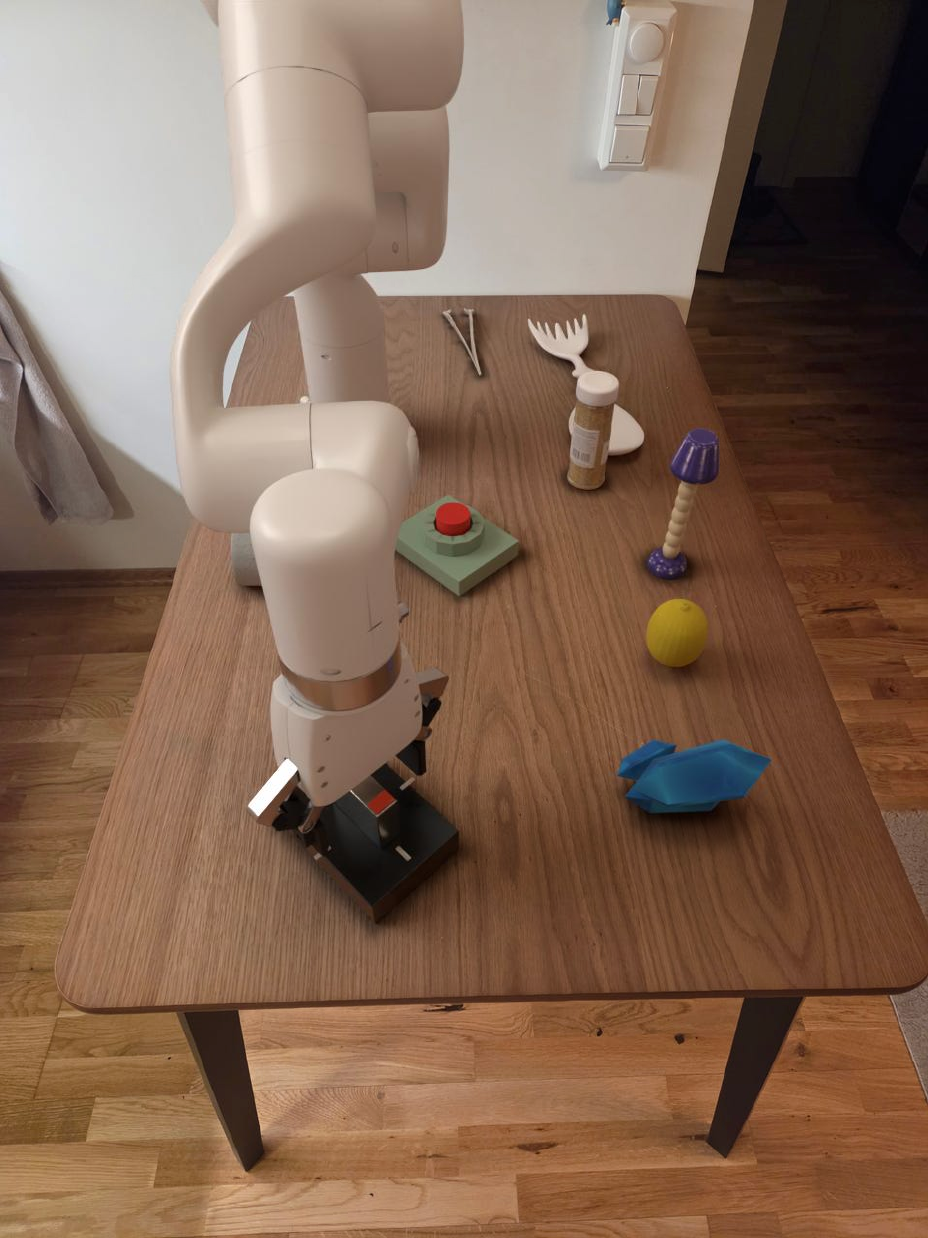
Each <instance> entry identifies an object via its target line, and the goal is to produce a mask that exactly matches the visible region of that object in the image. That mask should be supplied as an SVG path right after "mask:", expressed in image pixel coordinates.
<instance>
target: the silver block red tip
mask: <svg viewBox="0 0 928 1238" xmlns="http://www.w3.org/2000/svg"><path fill="white" fill-rule="evenodd" d="M334 803H335V804H336V805H337V806H338V807H339V808H340V809H341V810H342V811H343V812H344V813H345V814H346V815H347V816H348V817H349V818H350V819H351V820H352V821H353V822H354V823H355V824H356V825H357V826H358V827H359V828H360V829H361V830H362V831H363V832H364V833H365V834H366V835H367V836H368V837H369V838H370V839H371V840H372V841H373V842H374V843H375V844H376V845H377V846H378V847H379V848H380V849H383V848H384V847H385V846H386V845H387V844H389V843H390V842H391V841H392V840H393V839H395V838H396V837H397V836H398V835H399V834H400V826H399V816H398V806H397V800H396V799H395V798H394V797H393V796H392V795H391V794H390V793H389V792H387V791H386V790H385V789H384V788H383V787H382V786H381V785H380V784H379V783H378V782H377V781H376V780H375V779H374V778H373V777H372V776H371V775H370V776H368V777H367V778H366V779H364V780H363V781H362V782H360V783H359V784H358V785H357V786H355V787H354V788H353V789H351V790H350V791H349V792H347V793H346V794H345V795H343V796H342V797H340V798H339V799H338V800H336V801H335V802H334Z"/></svg>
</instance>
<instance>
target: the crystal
mask: <svg viewBox="0 0 928 1238" xmlns="http://www.w3.org/2000/svg"><path fill="white" fill-rule="evenodd" d="M677 746H678V745H677V744H676V743H671V742H668V741H662V740H657V739H651V740H650V741H648V742H647V743H645V744H644V745H641V746H640V747H639V748H637V749H636V750H634V751H632V752H631V753H629V754H628V755H626V756H625V757H622V759H621V761H620V764H619V768H618V770H617V774H616V777H619V778H624V779H627V780H630V781H635V783H634V784H633V786H631V789H630V790H629V791H628V792H627V793H626V794H625V795H624V797H625V798H626V799H628V800H629V801H631V803H632V802H633V803H634V804H635V805H637V806H638V807H640V808H641V809H643V810H644V811H645V812H647V813H649V814H665V813H666V814H667V813H689V812H690V813H692V812H693V813H694V812H712V811H713V810H714V809H715V807H716V806H718V805H719V803H720V802H724V801H732V800H739V799H745V797H746V796H747V795H748V793H749V792H750V791H751V790H752V788H753V787H754V785H755V784H756V782H757V781H758V780H759V778H760V777H761V776H762V774H763V773H764V772H765V770H766V769H767V768H768V767H769V764H770V763H771V762H772V759H771V758H770V757H766V756H764V755H762V754H760V753H757V752H755V751H752V750H750V749H748V748H745V747H743V746H740V745H738V744H736V743H733V742H731V741H729V740H727V739H724V738H721V739H718V740H715V741H711V742H708V743H704V744H700V745H697V746H694V747H690V748H686V749H683V750H679V751H676V748H677ZM675 751H676V752H675Z"/></svg>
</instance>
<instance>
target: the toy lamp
mask: <svg viewBox="0 0 928 1238" xmlns="http://www.w3.org/2000/svg"><path fill="white" fill-rule="evenodd" d="M669 470H670V472H671V473H672V476H674V477H675V478H676V479H678V480H680V481H681V483H680V484H679V486H678V488H677V495H676V497H675V500H674V507H673V509H672V511H671V519H670V520H669V522H668V528H667V529H668V531H667V532H666V535H665V542H664V543H663V546H662V547H659V548H656V549H655V550H654V551H652V552H651V553H650V555H649V557H648V558H647V560H646V566H647V569H648V570H649V572H650V573H651V574H652V575H654V576H655V577H657V578H660V579H664V580H677V579H680V578H681V577H683V576H684V575H685V574H686V573H687V569H688V564H687V563H688V562H687V559H686V557H685V555H684V554H683V553H682V552H681V545H682V543H683V541H684V533H685V532H686V530H687V528H688V527H687V525H688V523H687V522H688V521H689V519H690V516H691V508H692V507H693V505H694V497H695V496H696V495H697V492H698V485H707V484H710V483H713V482H714V481H715V480H716V479H717V477H718V476H719V472H720V442H719V437H718V436H717V434H716V433H714V432H713V431H711V430H710V429H707V428H694V429H691V430H689V431H688V432H687V433H686V435H685V436H684V438H683V439H682V441H681V443H680V445H679V446H678V448H677V450H676V451H675V453H674V455H673V456H672V458H671V460H670V463H669Z"/></svg>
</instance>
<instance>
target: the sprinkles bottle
mask: <svg viewBox="0 0 928 1238" xmlns="http://www.w3.org/2000/svg"><path fill="white" fill-rule="evenodd" d="M619 390H620V382H619V379H618V378H617V377H616V376H615V375H614V374H611V373H609V372H606V371H602V370H594V371H590V372H586V373H584V374H582V375H581V376H580V377H579V378H577V380H576V388H575V397H576V402H575V407H576V409H575V416H574V422H573V431H572V436H571V439H570V440H571V441H570V450H569V466H568V471H567V475H566V478H567V479H566V480H567V481H568V483H569V484H570V485H571V486H573V487H575V488H577V489H580V490H583V491H590V490H596V489H599V488H600V487H601V486H602V485H603V484H604V483H605V481H606V480H605V479H606V475H605V473H606V467H607V460H608V456H609V455H608V450H609V442H610V435H611V425H612V417H613V411H614V404H616V401H617V399H618V396H619Z"/></svg>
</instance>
